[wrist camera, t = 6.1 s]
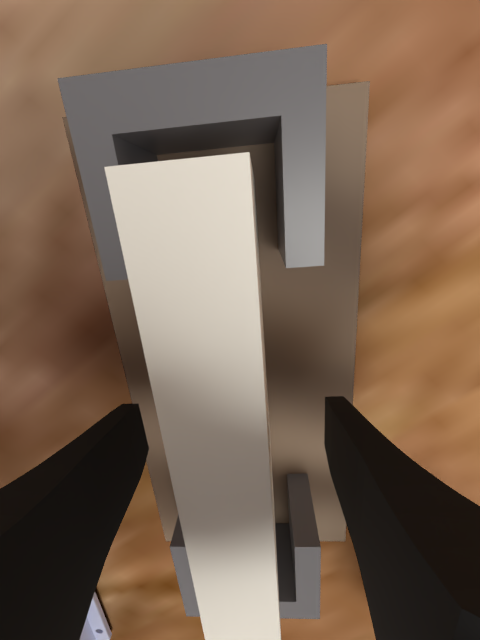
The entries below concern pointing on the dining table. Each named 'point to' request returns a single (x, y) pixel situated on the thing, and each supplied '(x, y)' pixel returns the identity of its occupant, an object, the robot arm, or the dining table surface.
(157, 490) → the base board
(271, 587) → the slat
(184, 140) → the end caps
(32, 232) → the dining table surface
